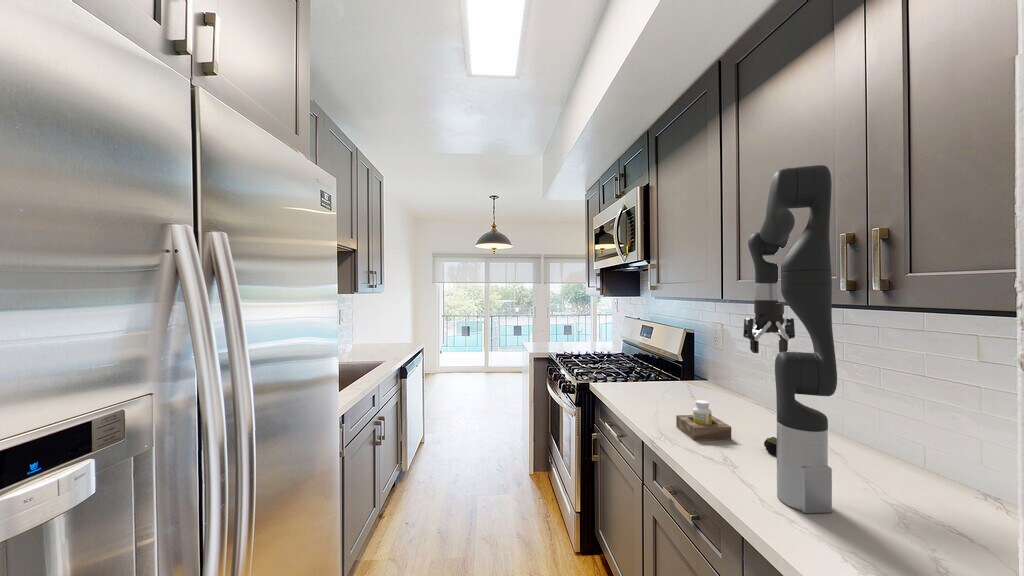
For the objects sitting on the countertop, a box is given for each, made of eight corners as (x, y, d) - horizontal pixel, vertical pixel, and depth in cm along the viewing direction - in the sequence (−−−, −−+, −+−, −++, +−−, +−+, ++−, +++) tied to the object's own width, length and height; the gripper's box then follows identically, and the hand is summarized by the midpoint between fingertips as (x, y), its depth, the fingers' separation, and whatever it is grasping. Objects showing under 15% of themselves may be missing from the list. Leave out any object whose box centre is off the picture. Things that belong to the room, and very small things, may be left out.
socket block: (731, 439, 125) (731, 426, 125) (694, 440, 124) (693, 427, 124) (710, 426, 137) (710, 414, 137) (676, 426, 136) (676, 415, 136)
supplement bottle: (705, 428, 134) (705, 399, 134) (715, 434, 128) (715, 403, 128) (690, 428, 133) (690, 399, 133) (698, 434, 128) (698, 404, 128)
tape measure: (798, 455, 113) (798, 442, 113) (784, 460, 110) (784, 447, 110) (773, 447, 119) (773, 434, 119) (759, 451, 116) (759, 438, 116)
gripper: (753, 299, 115) (754, 355, 115) (801, 298, 116) (801, 354, 116) (738, 298, 123) (738, 351, 123) (782, 298, 123) (782, 350, 123)
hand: (769, 352), depth 119 cm, fingers open, 8 cm apart
